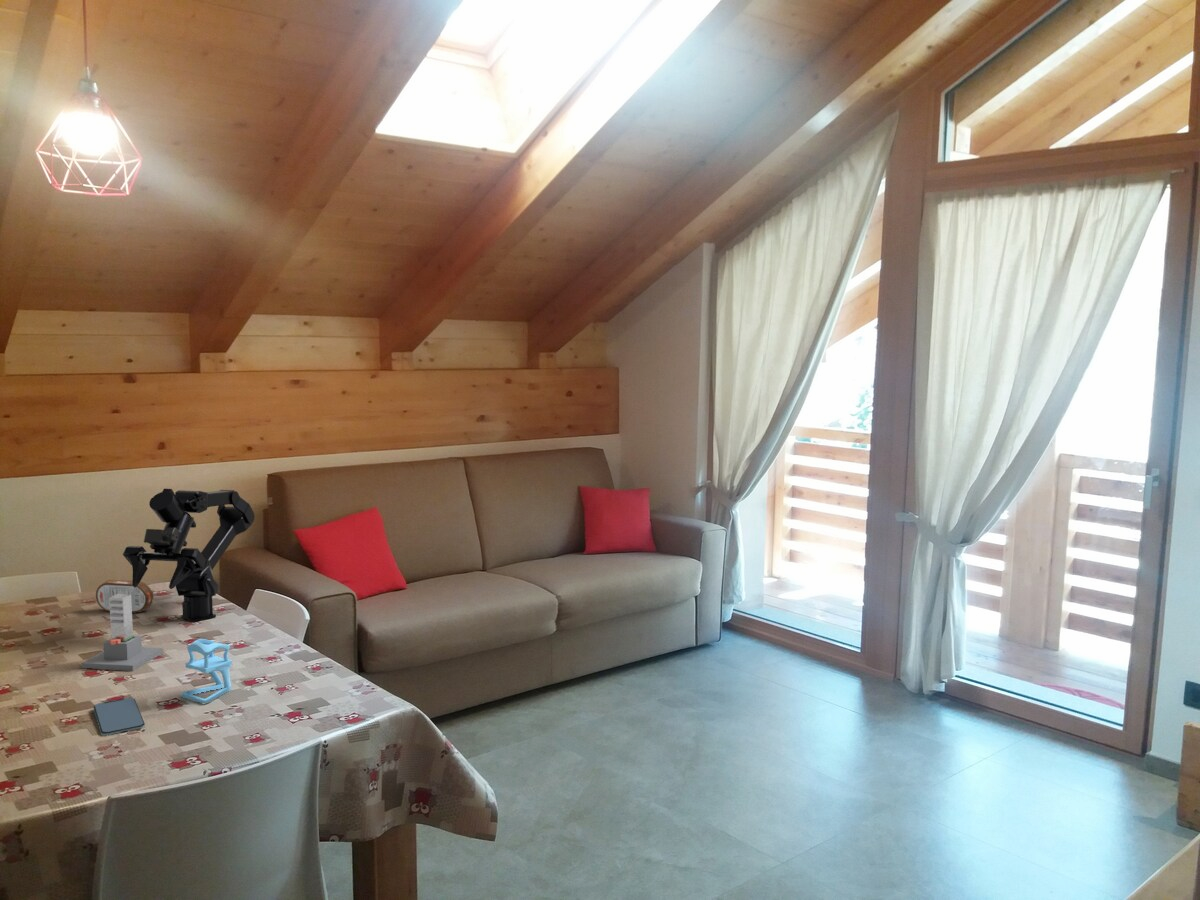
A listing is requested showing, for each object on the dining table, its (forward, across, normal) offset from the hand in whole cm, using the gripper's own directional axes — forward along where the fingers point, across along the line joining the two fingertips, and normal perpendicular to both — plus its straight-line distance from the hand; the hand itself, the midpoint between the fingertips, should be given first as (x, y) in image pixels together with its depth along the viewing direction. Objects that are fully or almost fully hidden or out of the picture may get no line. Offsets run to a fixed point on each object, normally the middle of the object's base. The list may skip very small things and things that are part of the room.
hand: (152, 587), depth 226 cm
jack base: (+19, 0, 0) cm, 19 cm away
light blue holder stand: (+31, +30, -11) cm, 44 cm away
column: (+16, 0, -3) cm, 16 cm away
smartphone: (+41, +19, -21) cm, 50 cm away
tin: (-6, -22, +26) cm, 34 cm away
